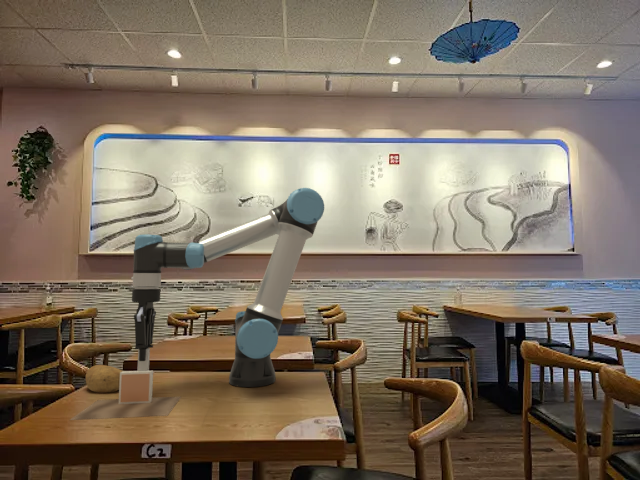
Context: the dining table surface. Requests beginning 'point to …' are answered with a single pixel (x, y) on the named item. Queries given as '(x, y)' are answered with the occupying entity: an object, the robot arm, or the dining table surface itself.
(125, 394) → the tile
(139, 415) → the board
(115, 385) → the potato
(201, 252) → the robot arm
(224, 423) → the dining table surface
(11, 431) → the dining table surface
